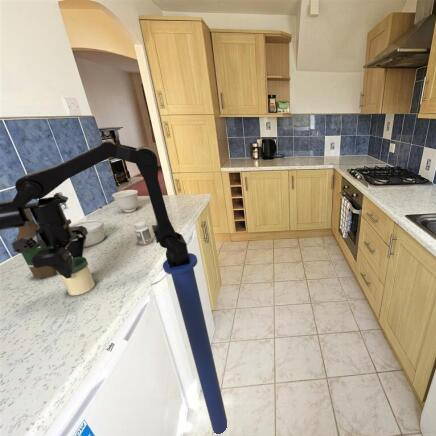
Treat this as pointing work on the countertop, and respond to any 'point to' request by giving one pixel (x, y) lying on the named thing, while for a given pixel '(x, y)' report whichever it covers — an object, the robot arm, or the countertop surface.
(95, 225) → the ramekin
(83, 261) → the jar lid
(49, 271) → the beer bottle
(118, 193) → the teacup
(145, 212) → the countertop surface
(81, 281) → the jam jar
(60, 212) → the robot arm
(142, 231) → the pill bottle
